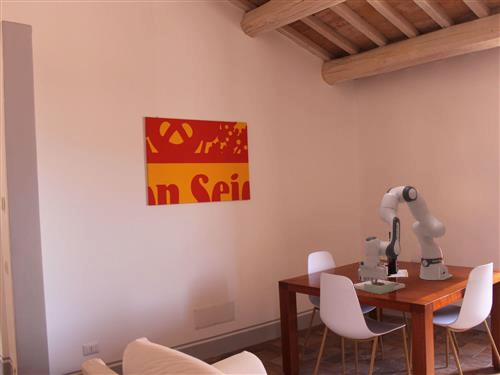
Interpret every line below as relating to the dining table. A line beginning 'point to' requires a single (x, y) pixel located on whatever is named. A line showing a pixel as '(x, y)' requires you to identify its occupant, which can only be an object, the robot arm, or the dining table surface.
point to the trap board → (382, 289)
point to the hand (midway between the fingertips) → (374, 285)
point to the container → (363, 277)
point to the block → (378, 284)
